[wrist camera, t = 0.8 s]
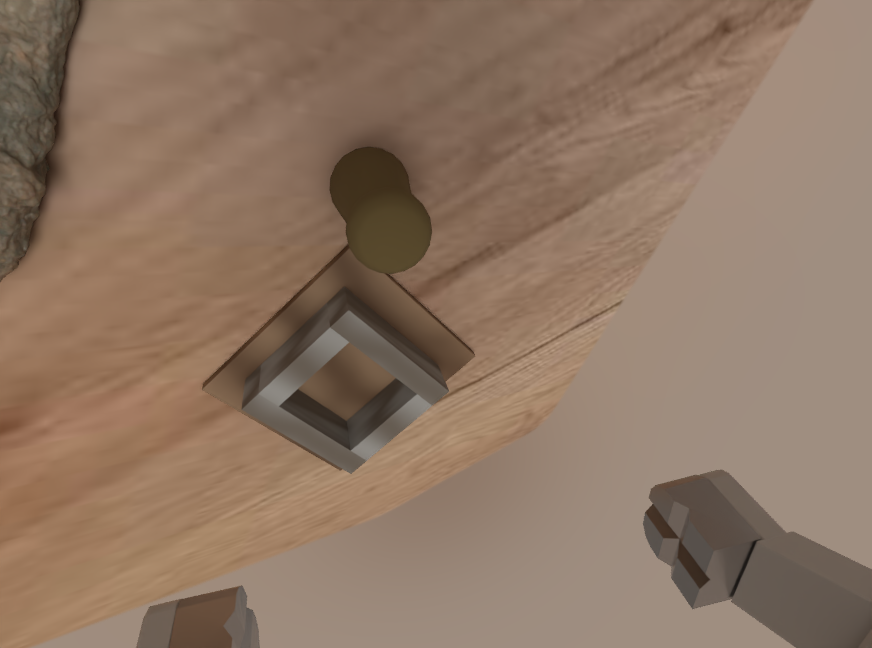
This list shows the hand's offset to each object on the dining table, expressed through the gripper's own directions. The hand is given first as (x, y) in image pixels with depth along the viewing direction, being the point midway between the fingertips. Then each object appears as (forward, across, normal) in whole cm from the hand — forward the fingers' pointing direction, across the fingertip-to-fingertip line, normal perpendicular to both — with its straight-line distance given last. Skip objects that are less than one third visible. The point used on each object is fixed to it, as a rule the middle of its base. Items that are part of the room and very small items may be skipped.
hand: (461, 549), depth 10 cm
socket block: (+33, +2, +18) cm, 38 cm away
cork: (+33, -2, +2) cm, 33 cm away
